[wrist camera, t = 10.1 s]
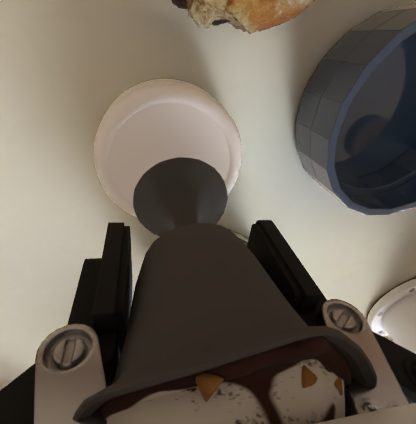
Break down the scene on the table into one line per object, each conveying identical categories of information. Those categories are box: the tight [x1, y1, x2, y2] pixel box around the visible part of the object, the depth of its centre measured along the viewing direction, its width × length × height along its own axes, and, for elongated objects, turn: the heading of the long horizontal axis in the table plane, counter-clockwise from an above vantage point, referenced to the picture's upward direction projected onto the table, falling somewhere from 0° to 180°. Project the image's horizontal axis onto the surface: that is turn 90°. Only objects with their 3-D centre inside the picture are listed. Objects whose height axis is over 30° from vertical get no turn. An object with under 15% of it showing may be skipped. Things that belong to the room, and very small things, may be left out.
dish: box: [296, 4, 416, 215], centre depth 21 cm, size 14×14×5 cm
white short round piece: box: [94, 79, 242, 218], centre depth 19 cm, size 10×10×4 cm
